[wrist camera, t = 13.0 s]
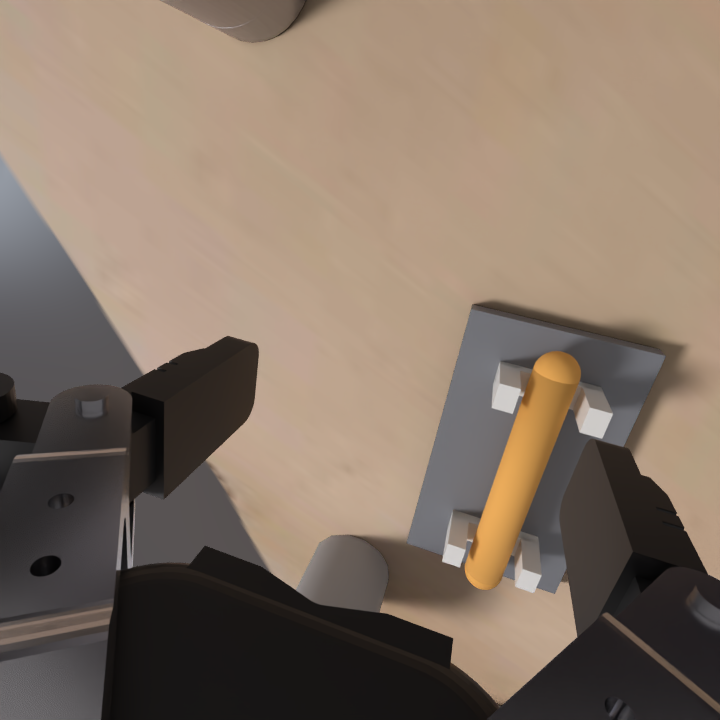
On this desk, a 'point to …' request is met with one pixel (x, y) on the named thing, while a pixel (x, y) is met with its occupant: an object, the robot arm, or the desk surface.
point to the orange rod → (522, 466)
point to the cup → (346, 574)
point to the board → (494, 424)
